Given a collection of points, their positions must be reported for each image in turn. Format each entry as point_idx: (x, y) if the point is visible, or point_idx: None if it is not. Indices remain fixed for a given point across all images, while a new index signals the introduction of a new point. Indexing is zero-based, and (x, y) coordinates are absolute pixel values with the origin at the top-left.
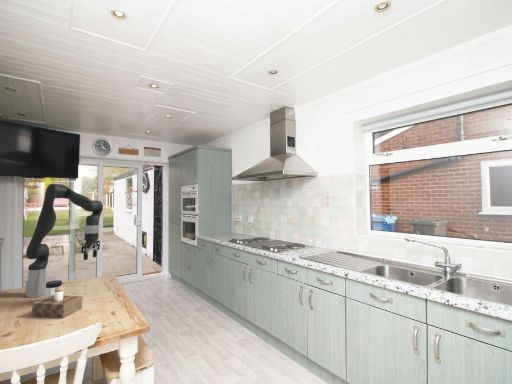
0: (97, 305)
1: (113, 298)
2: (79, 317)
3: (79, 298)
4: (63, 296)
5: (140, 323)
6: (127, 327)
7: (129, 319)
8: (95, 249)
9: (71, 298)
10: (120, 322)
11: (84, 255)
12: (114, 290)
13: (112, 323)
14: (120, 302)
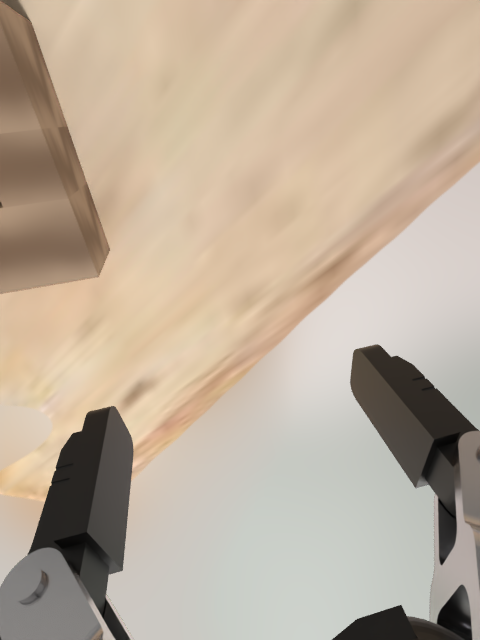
0: (178, 283)
1: (284, 278)
2: (29, 326)
3: (71, 280)
4: (20, 147)
5: None
6: None
7: None
8: (440, 543)
9: (30, 246)
10: None
11: (53, 521)
12: (412, 184)
13: None
14: (242, 341)
